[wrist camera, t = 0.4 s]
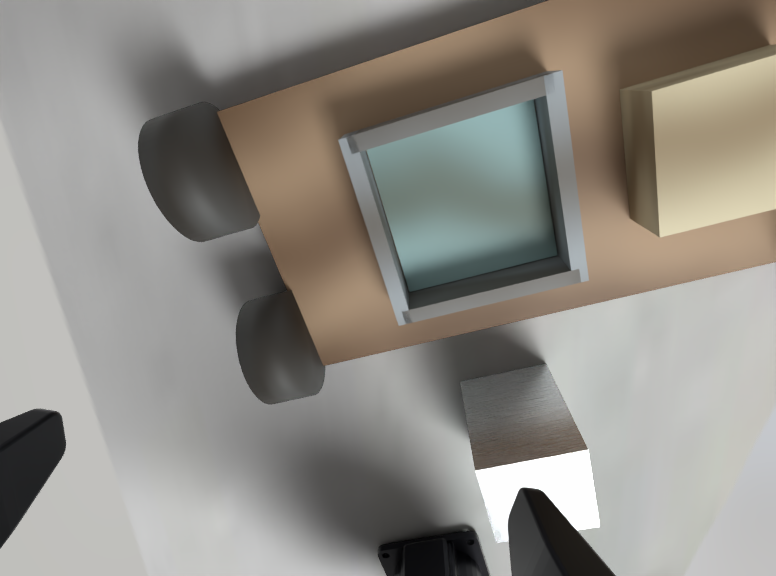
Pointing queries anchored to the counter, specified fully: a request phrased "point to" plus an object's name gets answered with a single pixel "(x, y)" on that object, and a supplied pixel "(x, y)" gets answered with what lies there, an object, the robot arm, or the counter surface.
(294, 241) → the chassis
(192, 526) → the counter surface
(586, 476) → the grey rectangular block
